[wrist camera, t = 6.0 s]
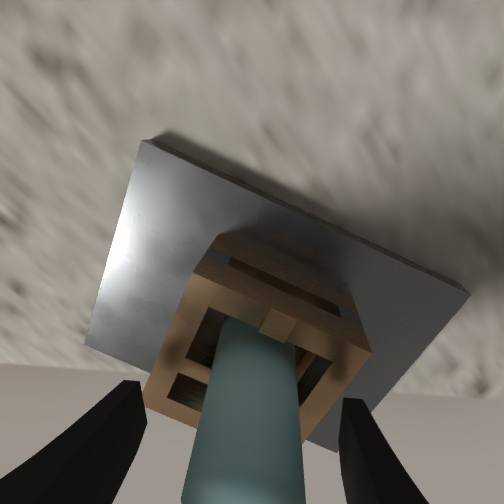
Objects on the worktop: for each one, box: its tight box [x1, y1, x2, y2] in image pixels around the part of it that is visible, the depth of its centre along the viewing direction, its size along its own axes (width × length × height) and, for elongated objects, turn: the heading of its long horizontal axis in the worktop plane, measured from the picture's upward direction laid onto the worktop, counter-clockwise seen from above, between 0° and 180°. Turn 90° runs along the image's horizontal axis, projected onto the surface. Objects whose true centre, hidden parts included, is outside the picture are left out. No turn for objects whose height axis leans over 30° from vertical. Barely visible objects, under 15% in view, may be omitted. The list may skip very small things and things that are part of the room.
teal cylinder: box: [181, 314, 306, 504], centre depth 13 cm, size 4×4×8 cm
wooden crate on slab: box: [84, 139, 471, 453], centre depth 15 cm, size 16×12×5 cm
